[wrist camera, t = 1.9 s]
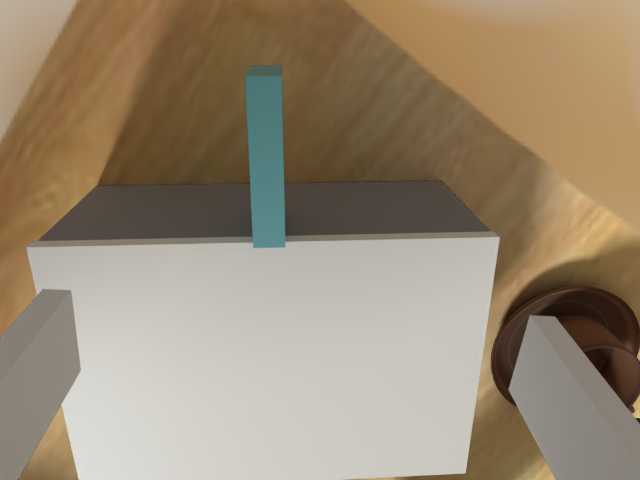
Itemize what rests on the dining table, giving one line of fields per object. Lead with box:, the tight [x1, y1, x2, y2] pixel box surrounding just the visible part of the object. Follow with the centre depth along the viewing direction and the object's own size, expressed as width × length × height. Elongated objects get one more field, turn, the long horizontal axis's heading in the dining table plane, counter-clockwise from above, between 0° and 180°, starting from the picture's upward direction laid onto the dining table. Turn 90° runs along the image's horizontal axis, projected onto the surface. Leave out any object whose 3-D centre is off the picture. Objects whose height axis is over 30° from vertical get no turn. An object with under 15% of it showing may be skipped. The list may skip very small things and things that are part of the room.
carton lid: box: [26, 66, 500, 480], centre depth 31 cm, size 24×25×5 cm
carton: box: [38, 181, 491, 241], centre depth 36 cm, size 24×16×10 cm, turn 90°
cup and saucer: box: [491, 286, 640, 413], centre depth 42 cm, size 12×12×6 cm
